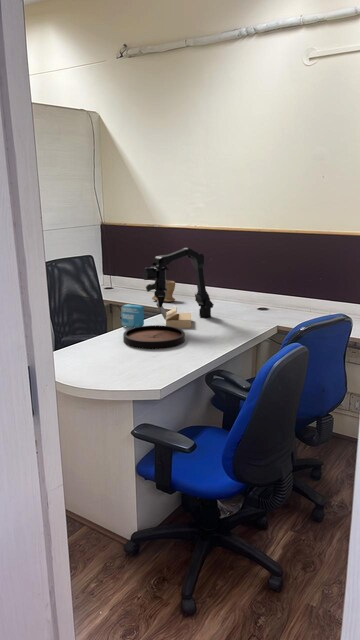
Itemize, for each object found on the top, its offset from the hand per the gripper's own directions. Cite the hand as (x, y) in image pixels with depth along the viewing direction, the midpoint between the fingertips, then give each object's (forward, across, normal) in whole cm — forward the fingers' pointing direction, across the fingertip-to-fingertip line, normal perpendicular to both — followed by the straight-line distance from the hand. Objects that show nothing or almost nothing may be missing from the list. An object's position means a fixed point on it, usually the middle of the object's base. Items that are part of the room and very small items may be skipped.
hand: (160, 305), depth 281 cm
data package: (+11, +6, -16) cm, 20 cm away
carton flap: (+5, 0, +6) cm, 8 cm away
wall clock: (+12, +33, -2) cm, 35 cm away
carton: (+11, 0, +10) cm, 15 cm away
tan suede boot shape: (+11, -64, -1) cm, 65 cm away
